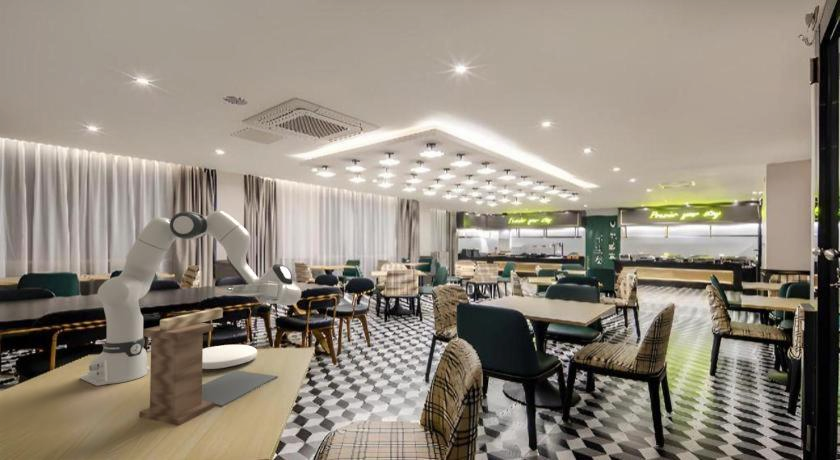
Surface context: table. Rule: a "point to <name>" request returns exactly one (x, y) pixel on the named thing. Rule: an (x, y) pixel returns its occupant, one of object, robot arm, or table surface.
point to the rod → (190, 319)
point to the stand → (176, 374)
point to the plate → (227, 356)
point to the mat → (233, 386)
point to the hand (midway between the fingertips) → (236, 287)
